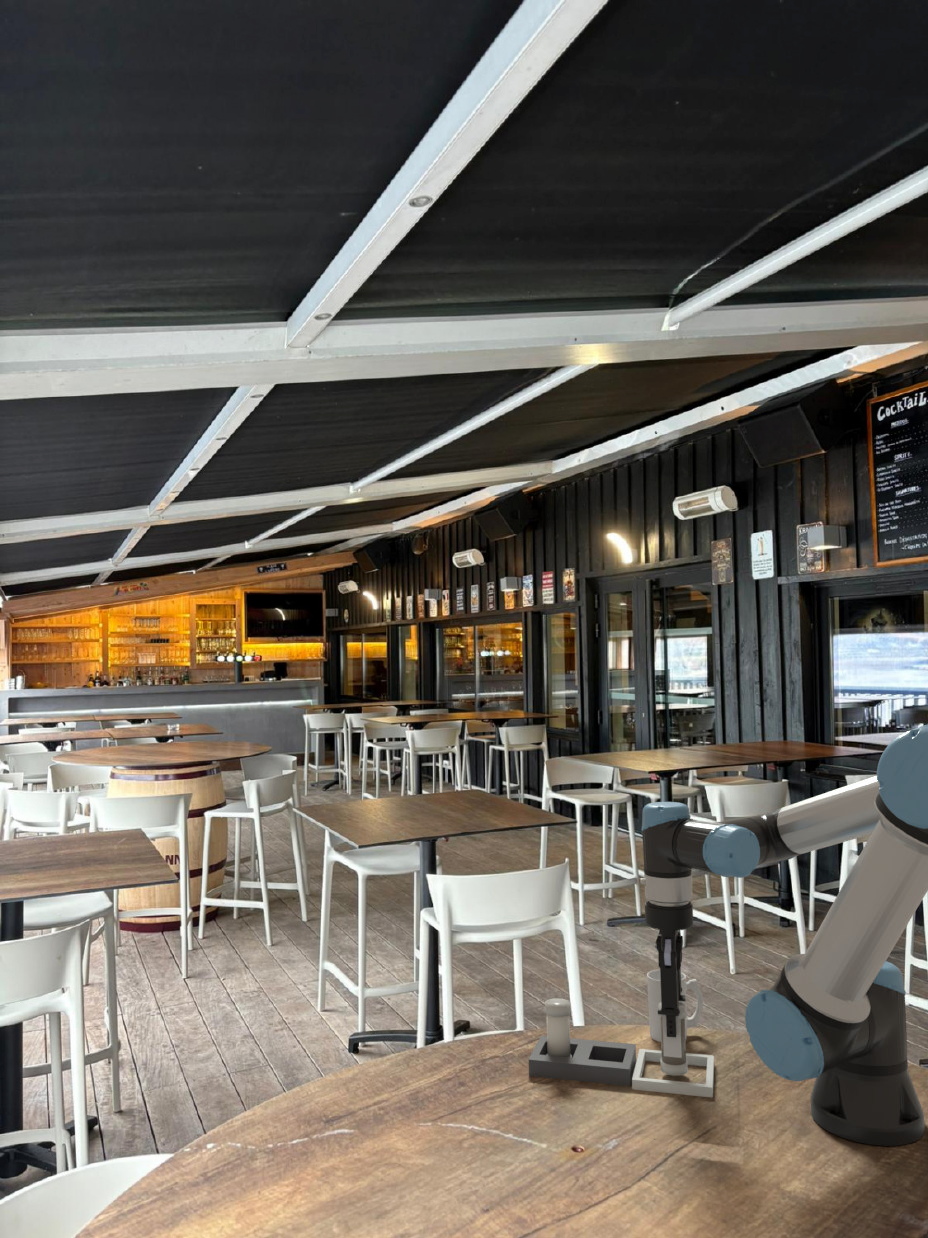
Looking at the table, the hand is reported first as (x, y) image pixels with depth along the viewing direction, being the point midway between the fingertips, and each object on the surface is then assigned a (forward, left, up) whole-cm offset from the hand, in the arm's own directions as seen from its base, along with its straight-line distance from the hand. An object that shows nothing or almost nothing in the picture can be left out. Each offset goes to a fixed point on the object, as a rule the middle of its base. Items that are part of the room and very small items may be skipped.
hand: (673, 1049), depth 146 cm
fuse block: (+15, 0, -6) cm, 16 cm away
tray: (0, 0, -6) cm, 6 cm away
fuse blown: (0, 0, -3) cm, 3 cm away
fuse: (+19, 0, -4) cm, 19 cm away
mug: (+1, -17, -6) cm, 18 cm away
